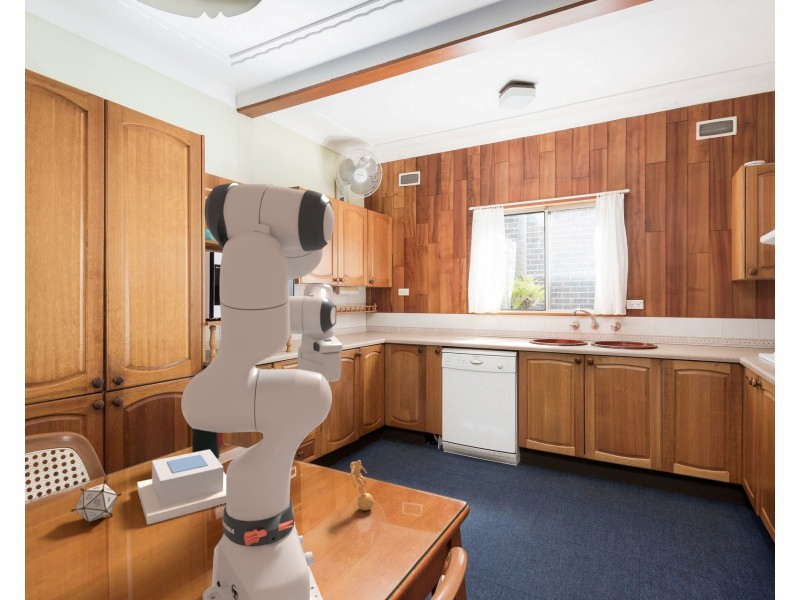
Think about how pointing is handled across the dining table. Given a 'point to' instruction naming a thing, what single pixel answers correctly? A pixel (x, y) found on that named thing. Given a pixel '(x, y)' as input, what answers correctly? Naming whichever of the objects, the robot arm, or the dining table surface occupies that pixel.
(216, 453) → the wine bottle
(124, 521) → the dining table surface
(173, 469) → the pedestal
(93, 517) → the game die
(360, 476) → the figurine
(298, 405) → the robot arm
